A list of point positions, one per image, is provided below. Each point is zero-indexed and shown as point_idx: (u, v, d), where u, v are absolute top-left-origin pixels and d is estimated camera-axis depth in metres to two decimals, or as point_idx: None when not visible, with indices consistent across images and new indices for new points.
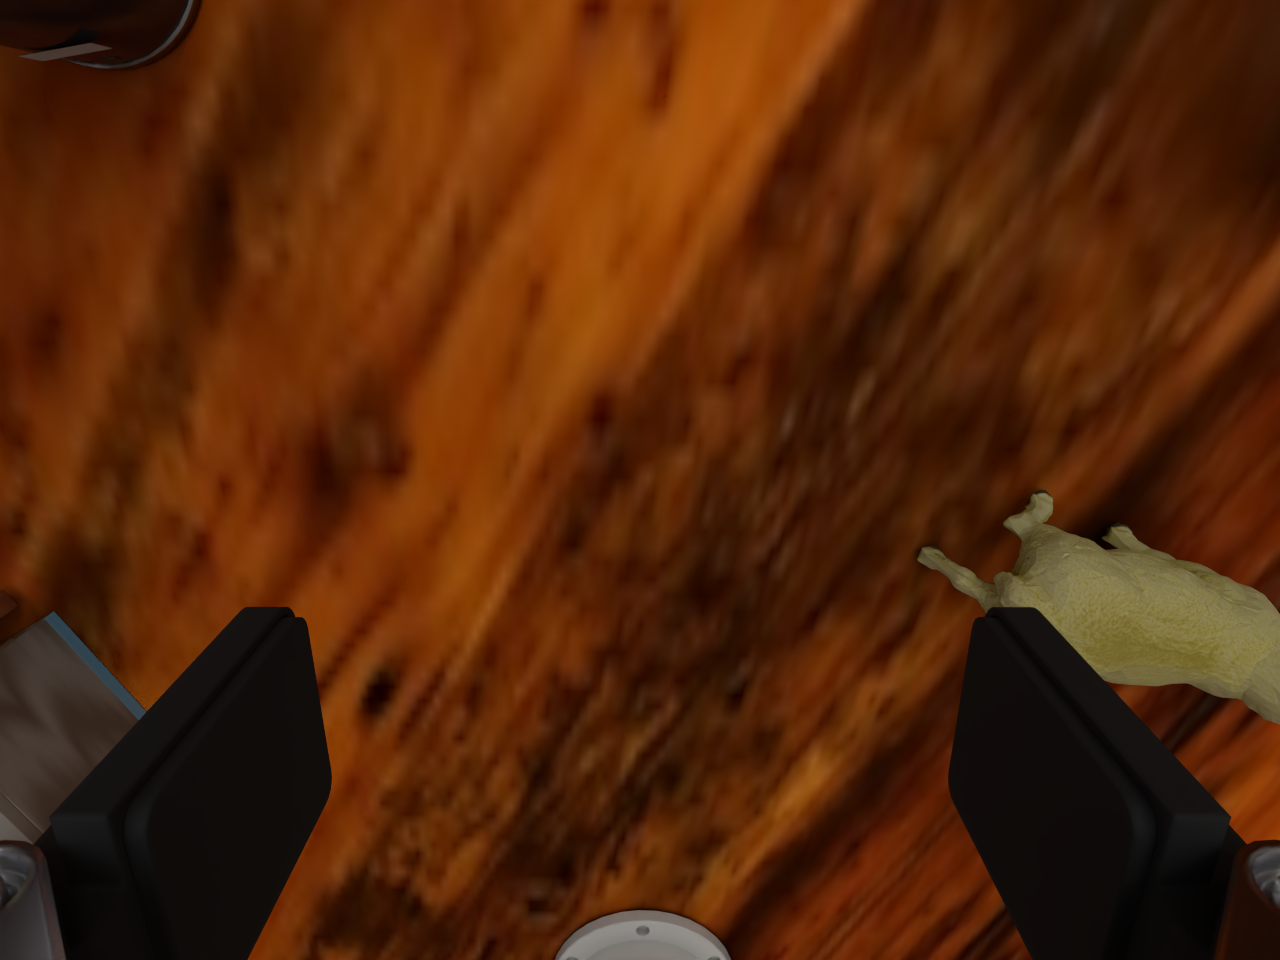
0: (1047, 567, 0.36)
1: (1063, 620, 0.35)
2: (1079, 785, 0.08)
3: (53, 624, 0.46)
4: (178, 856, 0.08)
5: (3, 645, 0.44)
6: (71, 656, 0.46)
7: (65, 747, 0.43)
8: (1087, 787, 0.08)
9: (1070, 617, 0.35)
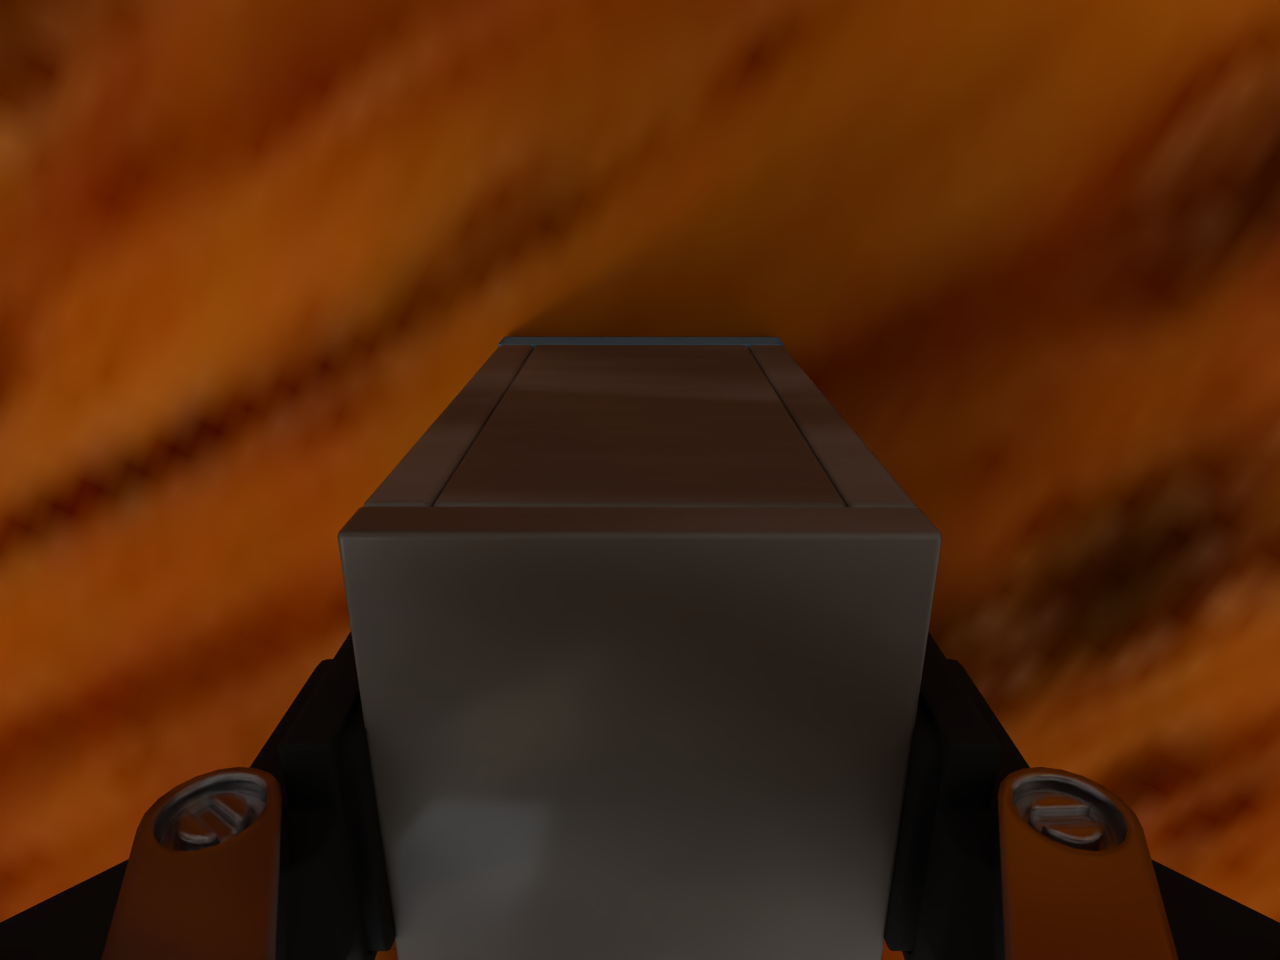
0: None
1: None
2: None
3: None
4: None
5: None
6: None
7: None
8: None
9: None
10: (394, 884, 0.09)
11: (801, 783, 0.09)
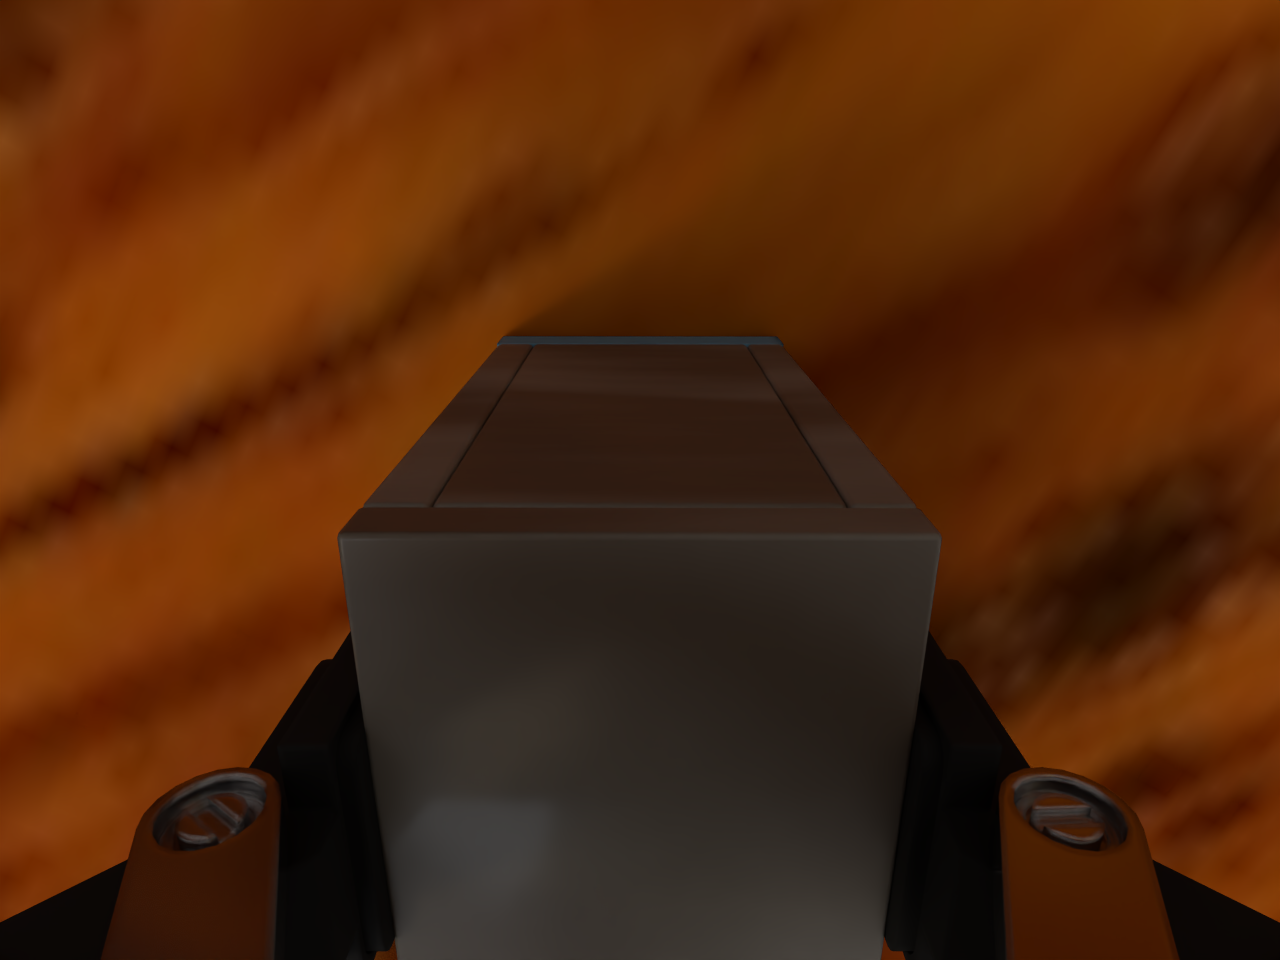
0: None
1: None
2: None
3: None
4: None
5: None
6: None
7: None
8: None
9: None
10: (394, 885, 0.09)
11: (801, 784, 0.09)
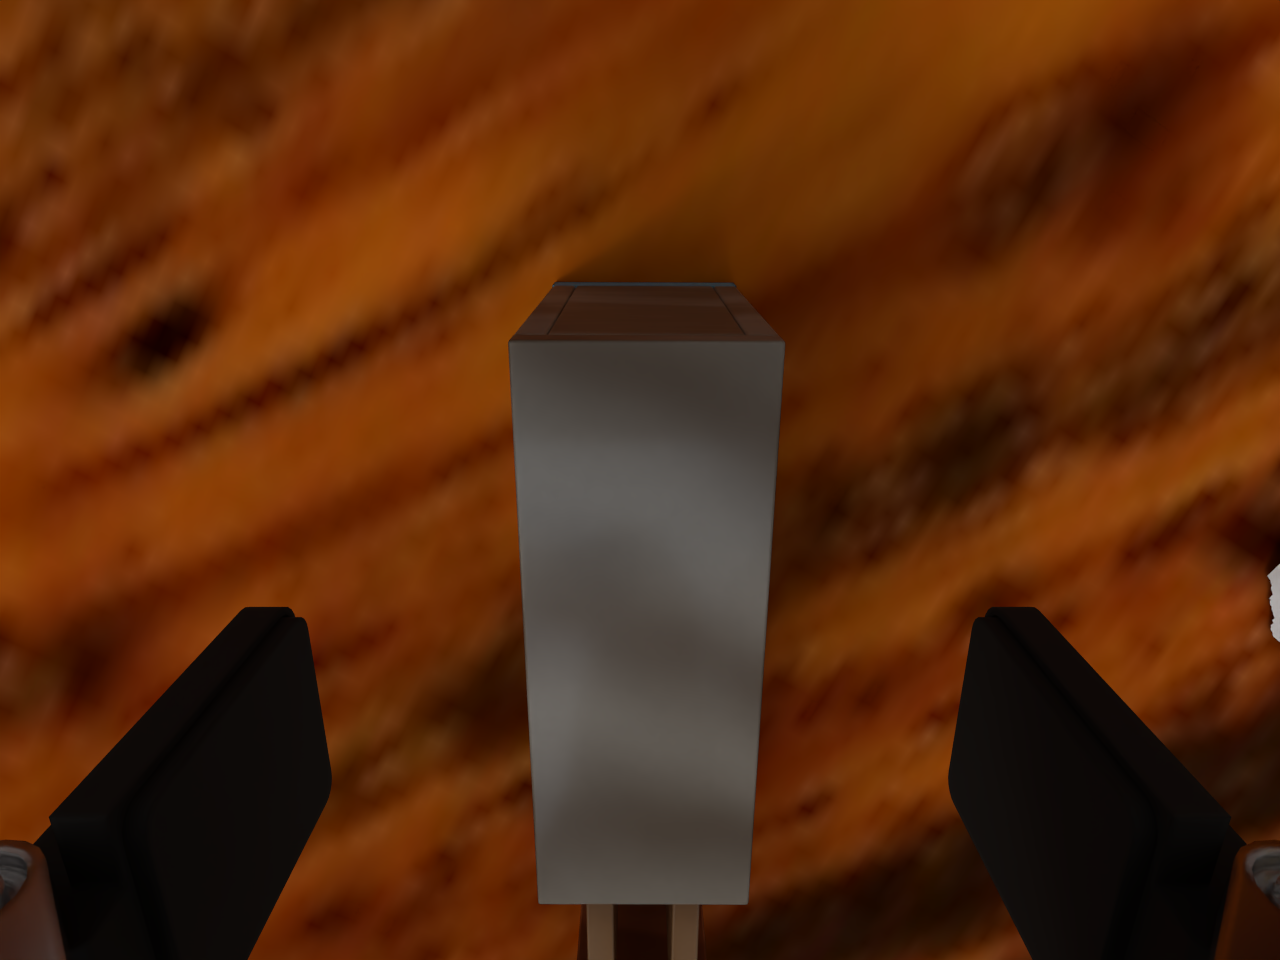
0: None
1: None
2: (1080, 785, 0.08)
3: None
4: (178, 856, 0.08)
5: None
6: None
7: None
8: (1088, 787, 0.08)
9: None
10: (522, 532, 0.18)
11: (725, 473, 0.18)
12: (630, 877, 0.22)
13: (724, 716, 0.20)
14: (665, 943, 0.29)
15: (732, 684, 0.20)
